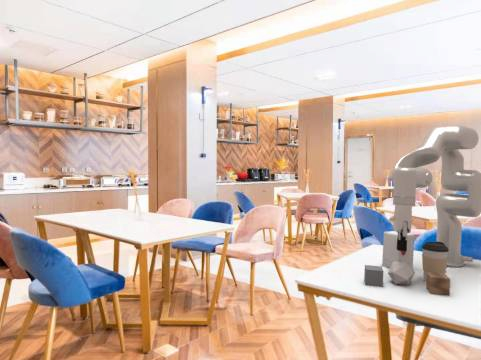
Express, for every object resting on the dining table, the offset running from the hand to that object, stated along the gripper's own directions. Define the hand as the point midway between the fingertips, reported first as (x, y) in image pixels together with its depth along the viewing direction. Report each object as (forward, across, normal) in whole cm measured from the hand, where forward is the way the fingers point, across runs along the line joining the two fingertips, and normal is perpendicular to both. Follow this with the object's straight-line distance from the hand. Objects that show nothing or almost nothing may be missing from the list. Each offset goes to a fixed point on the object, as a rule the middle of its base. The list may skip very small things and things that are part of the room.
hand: (401, 250), depth 133 cm
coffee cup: (+12, -6, +13) cm, 19 cm away
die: (+13, 0, 0) cm, 13 cm away
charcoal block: (+13, +4, -10) cm, 16 cm away
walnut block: (+12, +6, +11) cm, 18 cm away
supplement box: (+12, -22, +2) cm, 26 cm away
